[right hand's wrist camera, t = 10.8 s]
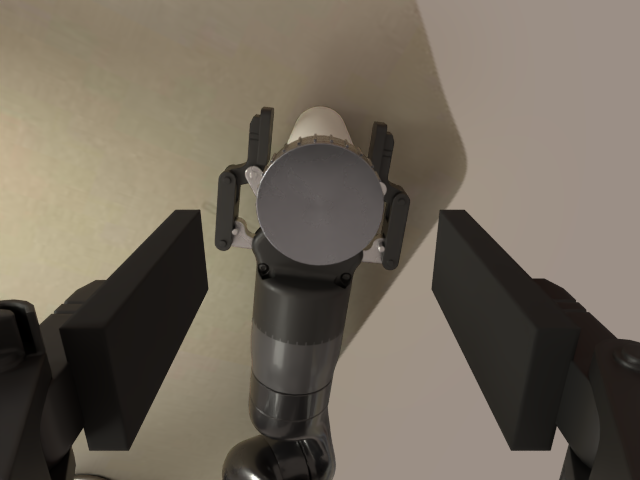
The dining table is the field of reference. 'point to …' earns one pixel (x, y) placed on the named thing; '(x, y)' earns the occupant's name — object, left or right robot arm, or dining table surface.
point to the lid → (320, 200)
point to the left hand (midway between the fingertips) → (324, 116)
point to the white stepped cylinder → (319, 124)
